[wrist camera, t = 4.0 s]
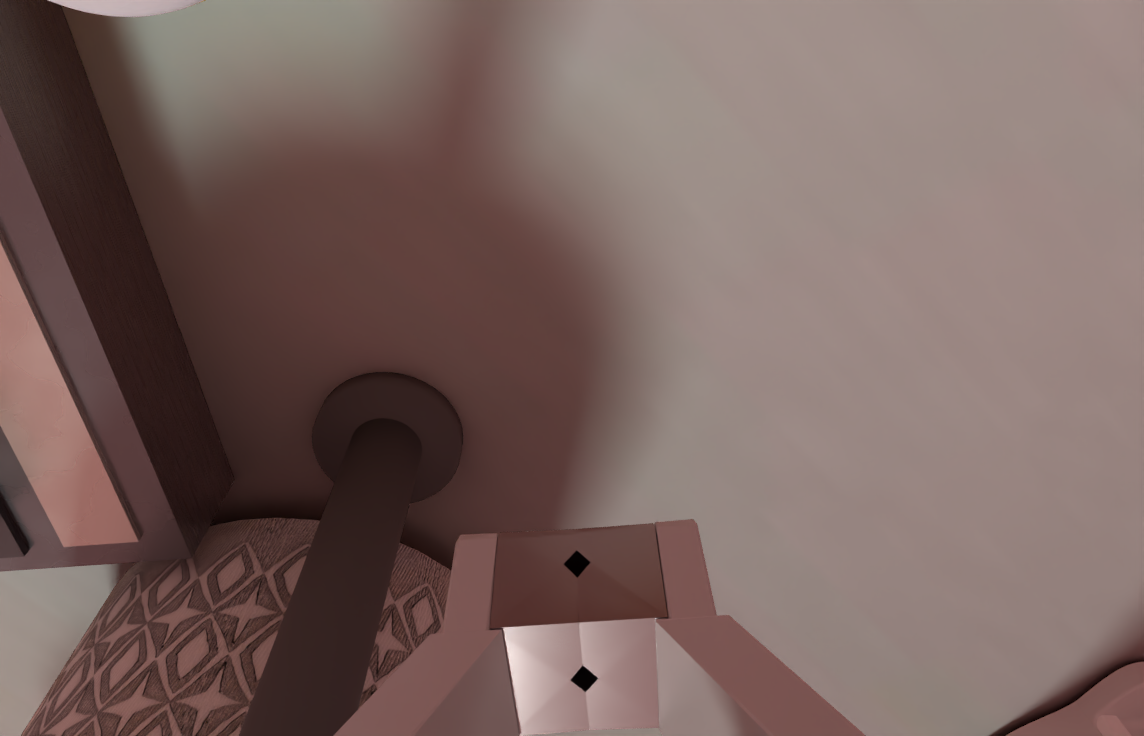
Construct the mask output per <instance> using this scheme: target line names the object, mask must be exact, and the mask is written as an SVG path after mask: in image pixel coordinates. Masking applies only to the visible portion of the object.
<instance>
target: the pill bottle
mask: <svg viewBox="0 0 1144 736" xmlns="http://www.w3.org/2000/svg"><path fill="white" fill-rule="evenodd" d="M48 1H51V2H54V3H57V4H59V5H62V6H65V7H68V8H72V9H75V10H79V11H83V12H88V13H94V14H100V15H107V16H118V17H143V16H152V15H158V14H164V13H169V12H173V11H176V10H180V9H184V8H187V7H189V6H192V5H195V4H197V3H200V2H203V1H205V0H48Z"/></svg>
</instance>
